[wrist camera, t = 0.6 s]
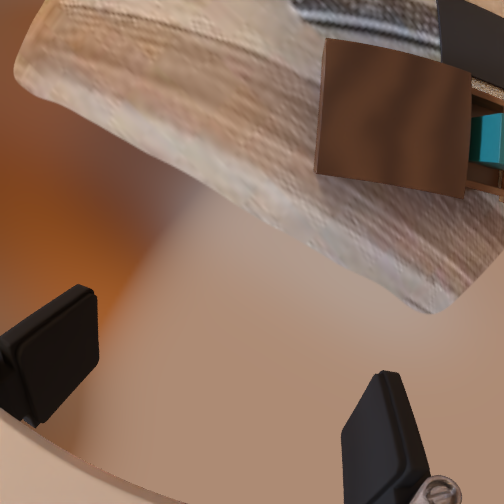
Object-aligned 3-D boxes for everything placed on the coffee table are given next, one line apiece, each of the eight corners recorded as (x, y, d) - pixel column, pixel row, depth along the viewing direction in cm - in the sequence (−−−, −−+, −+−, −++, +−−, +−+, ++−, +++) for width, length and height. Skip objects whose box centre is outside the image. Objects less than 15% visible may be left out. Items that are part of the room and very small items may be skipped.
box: (465, 118, 28) (501, 112, 20) (496, 129, 27) (535, 127, 20) (462, 160, 29) (498, 163, 22) (493, 169, 29) (532, 175, 21)
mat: (435, -10, 24) (436, -11, 24) (506, 20, 23) (507, 20, 23) (441, 66, 28) (442, 65, 28) (513, 94, 27) (515, 93, 26)
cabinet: (446, 83, 29) (471, 72, 22) (439, 191, 33) (463, 199, 26) (322, 57, 31) (325, 37, 24) (313, 171, 35) (316, 173, 28)
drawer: (533, 120, 26) (554, 118, 22) (525, 208, 30) (546, 216, 25) (418, 77, 29) (433, 68, 24) (410, 181, 32) (425, 184, 28)
